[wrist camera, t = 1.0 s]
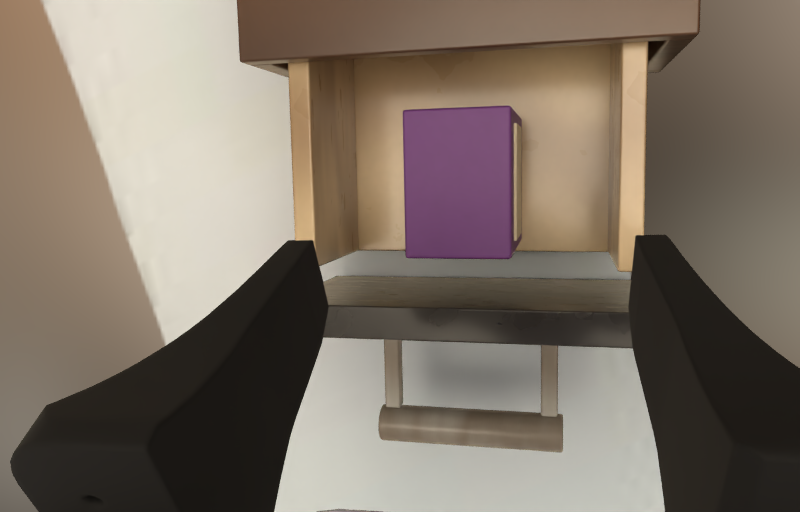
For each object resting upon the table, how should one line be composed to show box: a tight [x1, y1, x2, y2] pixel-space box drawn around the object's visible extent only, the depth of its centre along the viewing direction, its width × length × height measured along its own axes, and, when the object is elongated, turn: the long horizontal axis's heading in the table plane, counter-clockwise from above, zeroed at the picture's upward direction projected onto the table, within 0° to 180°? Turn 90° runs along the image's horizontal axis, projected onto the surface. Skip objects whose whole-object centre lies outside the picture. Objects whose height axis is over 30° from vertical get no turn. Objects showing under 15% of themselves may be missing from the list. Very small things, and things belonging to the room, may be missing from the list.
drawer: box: [288, 41, 648, 452], centre depth 27 cm, size 17×13×7 cm
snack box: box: [403, 105, 522, 259], centre depth 26 cm, size 5×4×6 cm
